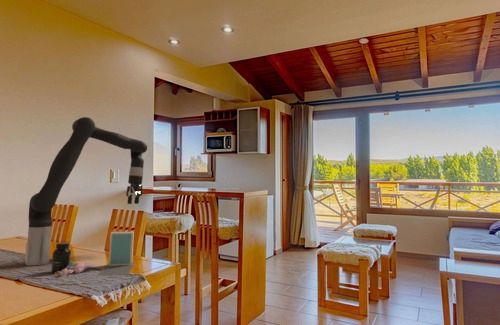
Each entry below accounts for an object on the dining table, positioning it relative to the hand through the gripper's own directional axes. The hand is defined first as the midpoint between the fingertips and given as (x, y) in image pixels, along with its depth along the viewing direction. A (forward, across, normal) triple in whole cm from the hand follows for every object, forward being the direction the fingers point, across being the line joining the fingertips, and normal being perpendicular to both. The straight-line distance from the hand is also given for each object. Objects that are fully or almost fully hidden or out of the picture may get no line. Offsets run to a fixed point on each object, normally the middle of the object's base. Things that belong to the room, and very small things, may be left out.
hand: (132, 203), depth 178 cm
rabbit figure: (+32, +24, -33) cm, 52 cm away
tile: (+30, +24, -14) cm, 40 cm away
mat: (+31, +29, -18) cm, 46 cm away
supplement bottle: (+32, +16, -37) cm, 51 cm away
